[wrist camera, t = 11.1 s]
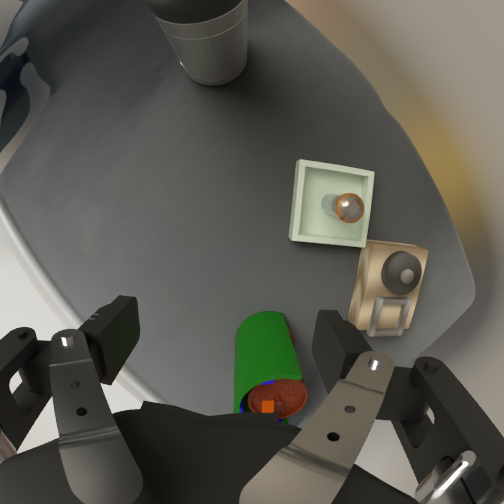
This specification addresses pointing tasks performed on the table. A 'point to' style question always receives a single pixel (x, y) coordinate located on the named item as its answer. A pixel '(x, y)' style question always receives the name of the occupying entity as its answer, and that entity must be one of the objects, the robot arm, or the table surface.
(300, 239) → the tray
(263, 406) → the motor
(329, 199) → the pin
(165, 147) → the table surface
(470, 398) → the robot arm
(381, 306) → the pulley block
